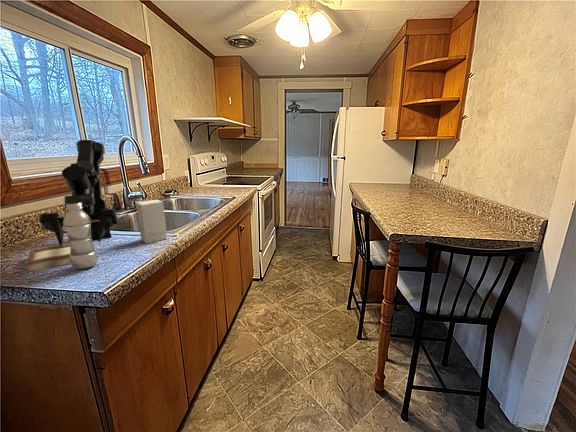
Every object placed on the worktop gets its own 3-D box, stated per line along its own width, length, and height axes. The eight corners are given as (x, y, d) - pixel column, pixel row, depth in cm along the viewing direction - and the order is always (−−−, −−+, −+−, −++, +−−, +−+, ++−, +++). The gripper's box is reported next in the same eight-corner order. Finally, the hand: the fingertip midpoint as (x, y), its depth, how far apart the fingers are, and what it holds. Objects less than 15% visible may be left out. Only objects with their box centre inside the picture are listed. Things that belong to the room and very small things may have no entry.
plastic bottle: (103, 264, 85) (93, 201, 80) (81, 273, 79) (69, 205, 74) (89, 261, 87) (78, 200, 82) (66, 270, 81) (53, 204, 76)
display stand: (81, 249, 97) (80, 241, 96) (84, 260, 87) (82, 252, 87) (32, 257, 89) (30, 249, 88) (29, 271, 79) (27, 262, 79)
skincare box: (161, 235, 113) (158, 199, 110) (168, 239, 109) (164, 201, 105) (140, 240, 108) (135, 201, 104) (145, 244, 103) (140, 204, 99)
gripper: (34, 185, 77) (27, 233, 70) (111, 183, 85) (112, 225, 78) (48, 207, 86) (43, 252, 79) (118, 203, 94) (119, 243, 87)
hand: (80, 243), depth 80 cm, fingers open, 9 cm apart
